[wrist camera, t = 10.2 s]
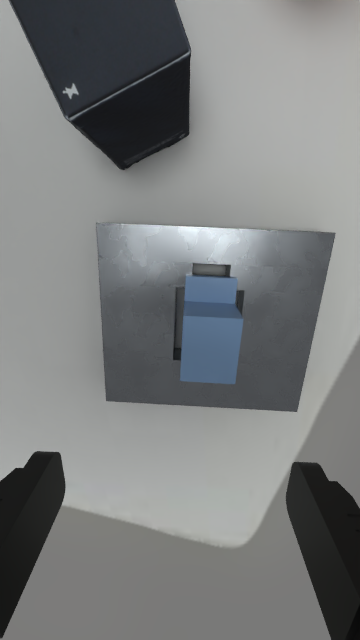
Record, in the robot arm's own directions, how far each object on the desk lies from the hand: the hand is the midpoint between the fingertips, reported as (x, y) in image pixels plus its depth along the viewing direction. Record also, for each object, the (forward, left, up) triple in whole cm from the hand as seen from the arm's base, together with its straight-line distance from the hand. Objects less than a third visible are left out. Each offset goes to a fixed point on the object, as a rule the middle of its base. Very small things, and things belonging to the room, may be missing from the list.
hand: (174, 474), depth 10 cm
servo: (0, +2, -17) cm, 17 cm away
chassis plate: (0, +2, -17) cm, 17 cm away
